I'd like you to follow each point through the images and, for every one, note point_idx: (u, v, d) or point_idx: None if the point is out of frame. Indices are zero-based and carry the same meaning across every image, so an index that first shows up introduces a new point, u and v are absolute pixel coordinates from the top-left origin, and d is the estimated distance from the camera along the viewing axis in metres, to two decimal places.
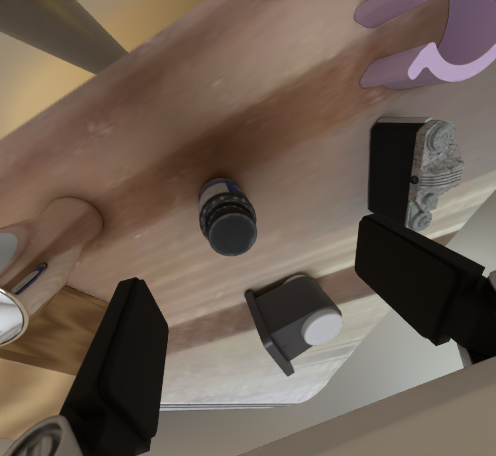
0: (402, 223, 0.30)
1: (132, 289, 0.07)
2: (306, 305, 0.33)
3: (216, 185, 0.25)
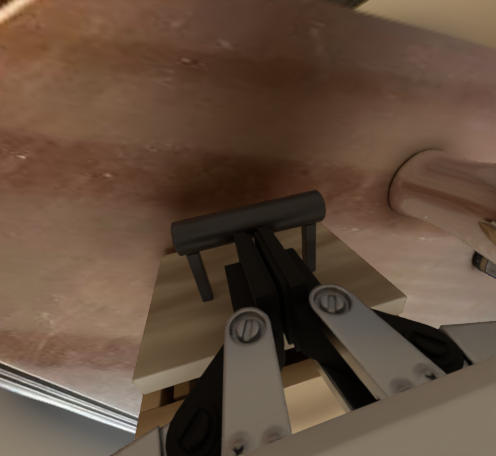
0: None
1: (248, 238, 0.09)
2: None
3: None
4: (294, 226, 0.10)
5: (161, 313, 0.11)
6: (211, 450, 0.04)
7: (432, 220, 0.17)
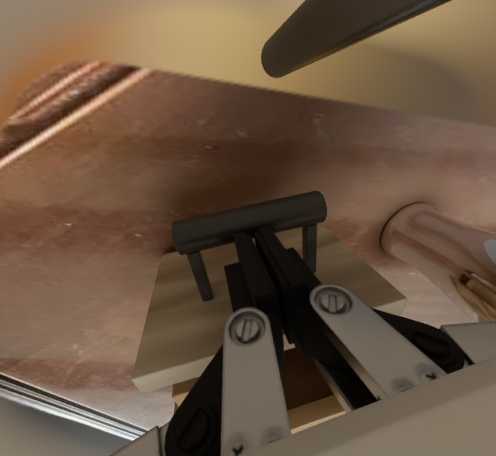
0: None
1: (248, 238, 0.09)
2: None
3: None
4: (295, 227, 0.10)
5: (160, 312, 0.11)
6: (210, 451, 0.04)
7: (417, 269, 0.19)
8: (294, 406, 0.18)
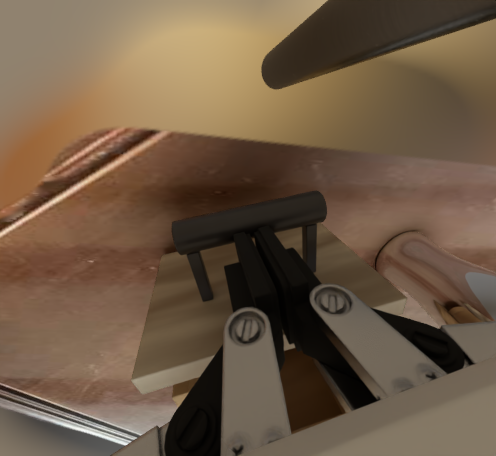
0: None
1: (248, 239, 0.09)
2: None
3: None
4: (295, 226, 0.10)
5: (160, 312, 0.11)
6: (210, 451, 0.04)
7: (409, 294, 0.21)
8: (294, 407, 0.18)
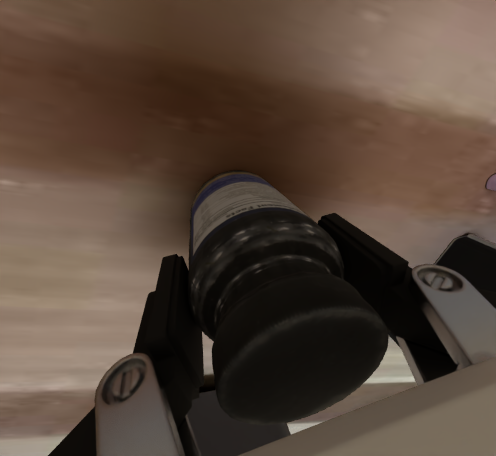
0: None
1: (176, 263, 0.08)
2: None
3: (266, 186, 0.11)
4: None
5: None
6: None
7: None
8: None
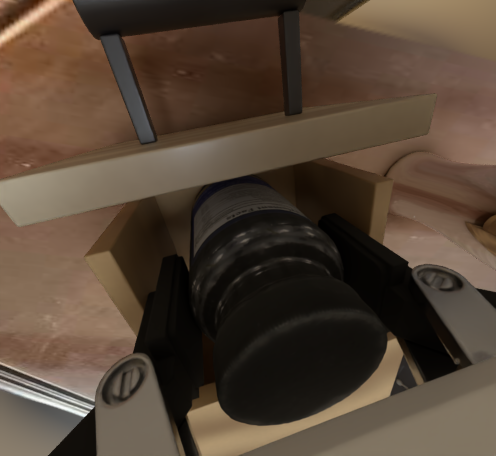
0: None
1: (176, 263, 0.08)
2: None
3: (266, 187, 0.11)
4: None
5: (78, 157, 0.08)
6: None
7: (420, 219, 0.17)
8: None
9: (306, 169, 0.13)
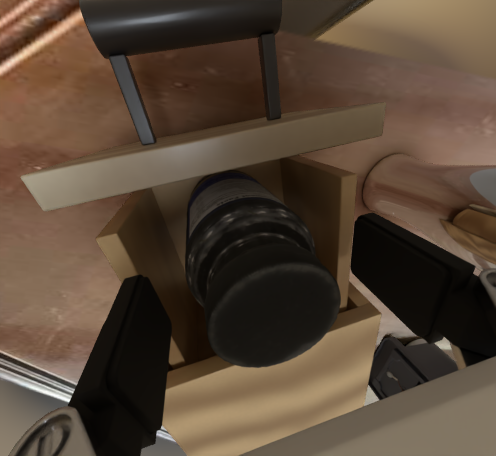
0: None
1: (137, 286, 0.07)
2: None
3: (252, 182, 0.12)
4: (244, 20, 0.08)
5: (88, 156, 0.09)
6: None
7: (398, 215, 0.19)
8: None
9: (290, 167, 0.14)
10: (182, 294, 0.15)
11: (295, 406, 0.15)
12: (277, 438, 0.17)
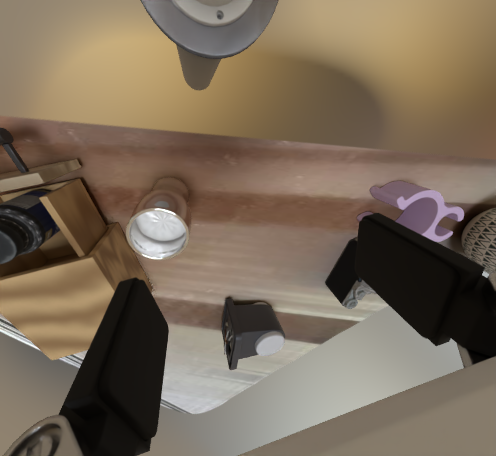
0: (342, 300, 0.49)
1: (132, 289, 0.07)
2: (268, 324, 0.46)
3: (33, 196, 0.27)
4: None
5: None
6: None
7: None
8: None
9: None
10: None
11: (73, 307, 0.30)
12: (75, 328, 0.32)
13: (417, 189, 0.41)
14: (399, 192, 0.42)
